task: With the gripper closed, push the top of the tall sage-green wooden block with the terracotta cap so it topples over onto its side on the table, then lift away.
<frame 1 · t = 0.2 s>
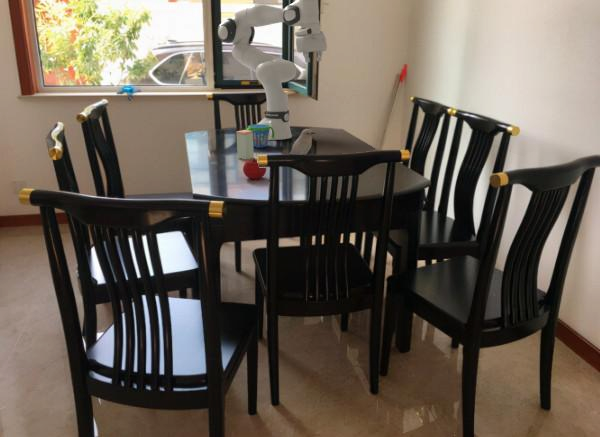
hand: (313, 61, 244), 39 cm above the table, tool pointing down, fingers open, 8 cm apart
tomato: (255, 178, 195), on the table
snack cup: (259, 147, 249), on the table
tall block: (245, 158, 227), on the table
bird: (301, 164, 215), on the table
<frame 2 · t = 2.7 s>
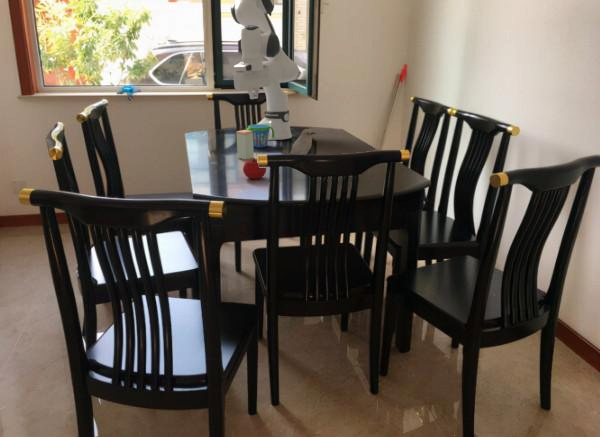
hand: (253, 98, 223), 25 cm above the table, tool pointing down, fingers closed
nothing on the table moved.
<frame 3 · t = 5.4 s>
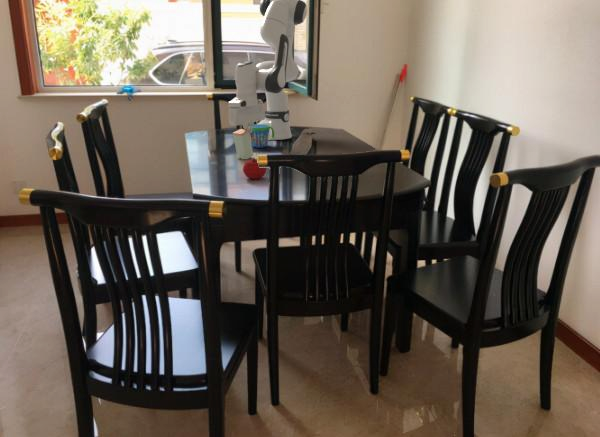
hand: (248, 133, 224), 11 cm above the table, tool pointing down, fingers closed
tall block: (245, 157, 226), on the table, tilted 11°, touching gripper
everything else where it was.
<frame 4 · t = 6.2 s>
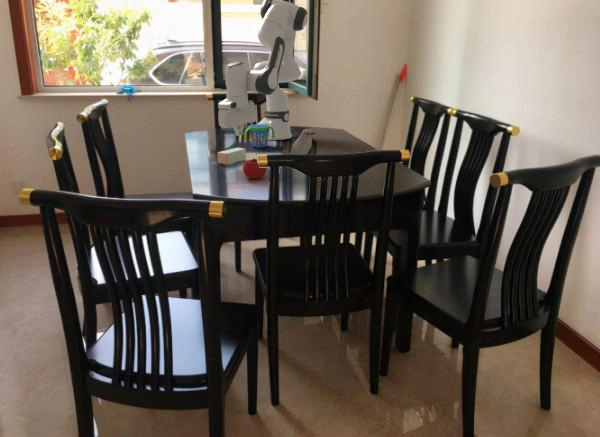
hand: (239, 135, 220), 11 cm above the table, tool pointing down, fingers closed
tall block: (241, 153, 224), point 2 cm above the table, tilted 90°
everything else where it was.
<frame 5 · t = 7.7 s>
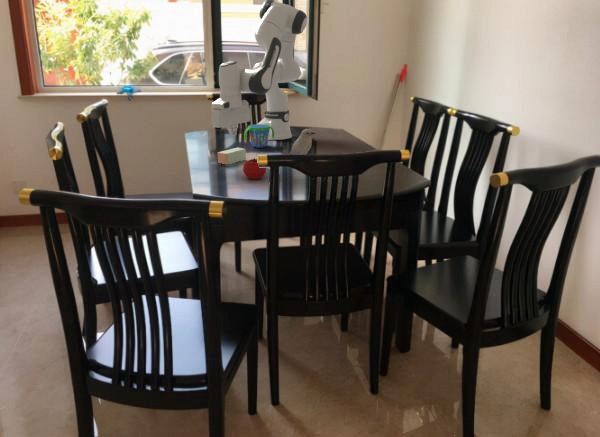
hand: (232, 135, 218), 11 cm above the table, tool pointing down, fingers closed
nothing on the table moved.
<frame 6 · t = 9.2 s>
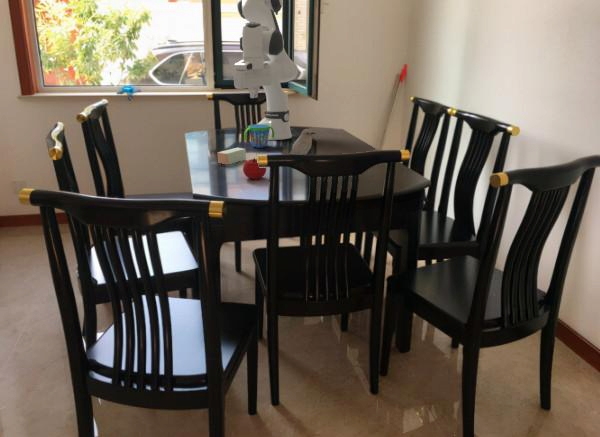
hand: (253, 97, 218), 26 cm above the table, tool pointing down, fingers closed
nothing on the table moved.
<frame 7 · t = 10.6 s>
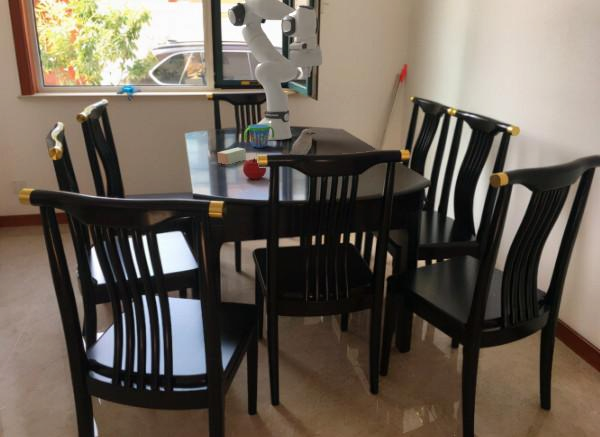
hand: (306, 77, 231), 33 cm above the table, tool pointing down, fingers closed
nothing on the table moved.
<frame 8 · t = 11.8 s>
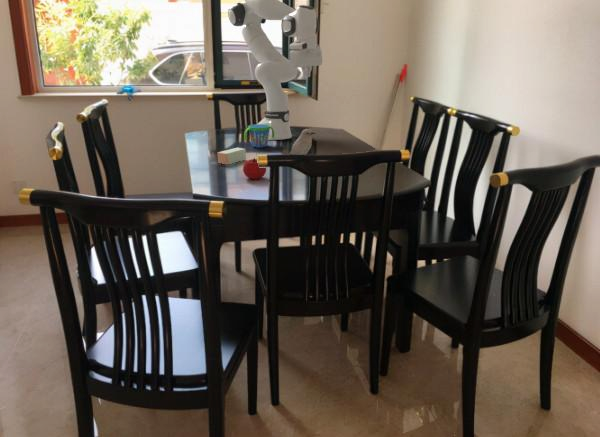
hand: (306, 77, 231), 33 cm above the table, tool pointing down, fingers closed
nothing on the table moved.
at the end: tall block tilted 90°; tall block inside the target area (0.6 cm from its centre), point 2.4 cm above the table; the gripper is holding nothing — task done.
